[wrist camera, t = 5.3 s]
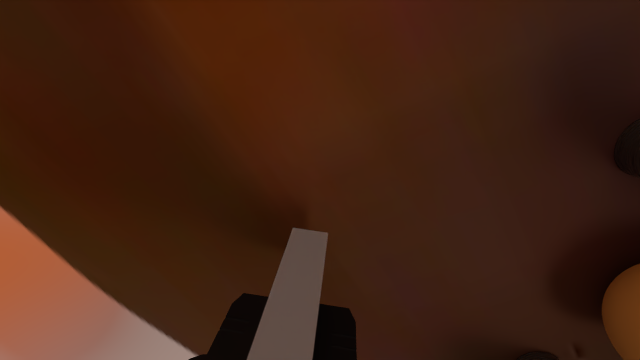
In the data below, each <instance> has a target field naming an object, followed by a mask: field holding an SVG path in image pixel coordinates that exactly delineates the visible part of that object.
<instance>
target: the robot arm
mask: <svg viewBox="0 0 640 360" xmlns="http://www.w3.org/2000/svg"><path fill="white" fill-rule="evenodd" d="M327 238H328V233H326V232H319V231H312V230H305V229H298V228H293V229H292V232H291V235H290V237H289V240H288V243H287V246H286V249H285V252H284V255H283V257H282V260H281V263H280V266H279V269H278V272H277V275H276V277H275V280H274V283H273V286H272V289H271V292H270V295H269V297H266V296H259V295H253V294H246V293H243V294H242V295H241V296H240V297H239V298H238V299H237V300H236V301H234V302H233V303H232V305H231V307H230V309H229V311H228V313H227V315H226V318H225V319H224V321H223V323H222V325H221V327H220V331H218V333H217V335H216V337H215V339H214V341H213V343H212V345H211V347H210V349H209V351H208V353H207V354H202V355H199V356H197V357H194V358H191V359H189V360H357V355H356V322H355V320H354V318H353V316H352V314H351V312H350V310H349V308H343V307H336V306H330V305H324V304H319V302H320V294H321V286H322V278H323V270H324V262H325V254H326V246H327Z"/></svg>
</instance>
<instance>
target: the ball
mask: <svg viewBox="0 0 640 360" xmlns="http://www.w3.org/2000/svg"><path fill="white" fill-rule="evenodd" d="M602 319H603V324H604V327H605V330H606V333H607V335H608V337H609V339H610V341H611V343H612V345H613V346H614V348H615V350H616V351H617V352H618V353H619V355H620V356H621V357H622V359H623V360H640V264H637V265H634V266H632V267H630V268H628V269H627V270H625V271H623V272H622V273H621V274H619V275H618V276H617V277H616V278H615V279H614V280H613V281H612V282H611V284H610V285H609V286H608V288H607V290H606V292H605V294H604V298H603V302H602Z"/></svg>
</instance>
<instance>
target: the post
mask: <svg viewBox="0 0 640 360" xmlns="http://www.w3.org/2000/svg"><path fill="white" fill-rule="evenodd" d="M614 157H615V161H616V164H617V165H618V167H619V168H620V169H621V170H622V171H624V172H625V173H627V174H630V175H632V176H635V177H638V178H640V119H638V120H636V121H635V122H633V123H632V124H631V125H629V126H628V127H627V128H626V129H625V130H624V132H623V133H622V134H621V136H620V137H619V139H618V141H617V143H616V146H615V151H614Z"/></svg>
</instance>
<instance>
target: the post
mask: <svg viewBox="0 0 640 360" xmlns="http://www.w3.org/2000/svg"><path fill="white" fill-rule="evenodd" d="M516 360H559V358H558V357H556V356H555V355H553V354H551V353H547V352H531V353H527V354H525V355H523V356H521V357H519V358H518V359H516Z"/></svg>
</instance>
